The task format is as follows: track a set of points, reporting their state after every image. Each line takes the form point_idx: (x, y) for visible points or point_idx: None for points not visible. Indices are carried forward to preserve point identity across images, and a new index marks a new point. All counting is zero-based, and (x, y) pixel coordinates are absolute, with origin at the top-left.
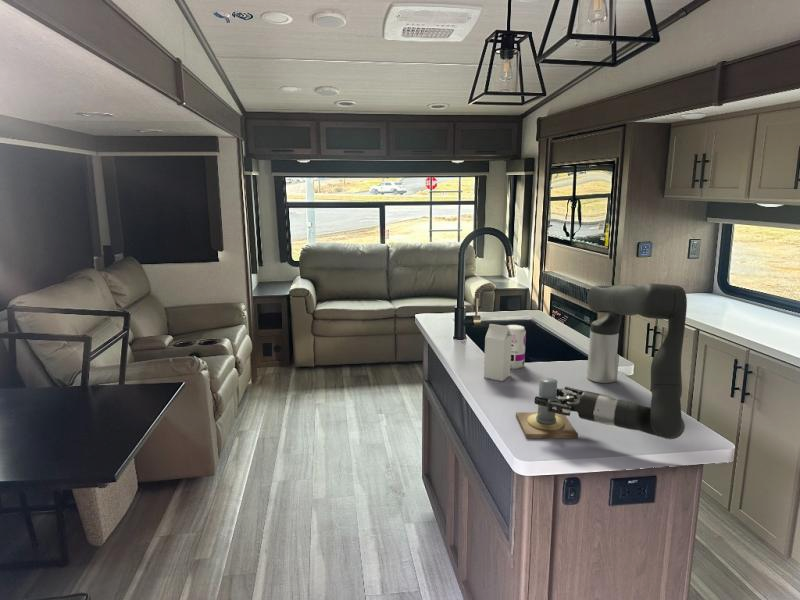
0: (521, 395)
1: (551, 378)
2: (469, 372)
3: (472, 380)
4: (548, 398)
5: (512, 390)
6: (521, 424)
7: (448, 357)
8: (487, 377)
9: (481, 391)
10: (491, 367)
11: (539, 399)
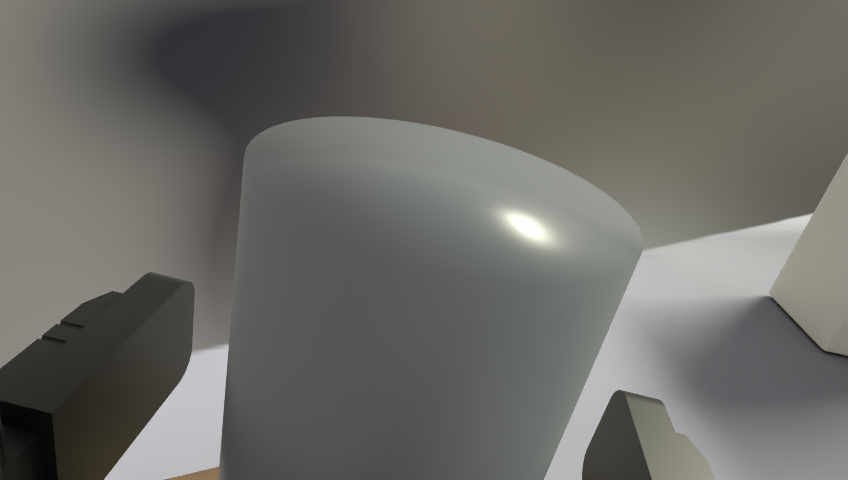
0: (773, 445)
1: (617, 223)
2: (755, 259)
3: (698, 267)
4: (58, 410)
5: (781, 397)
6: (203, 471)
7: (792, 220)
8: (778, 299)
9: (625, 291)
10: (819, 260)
11: (76, 320)
